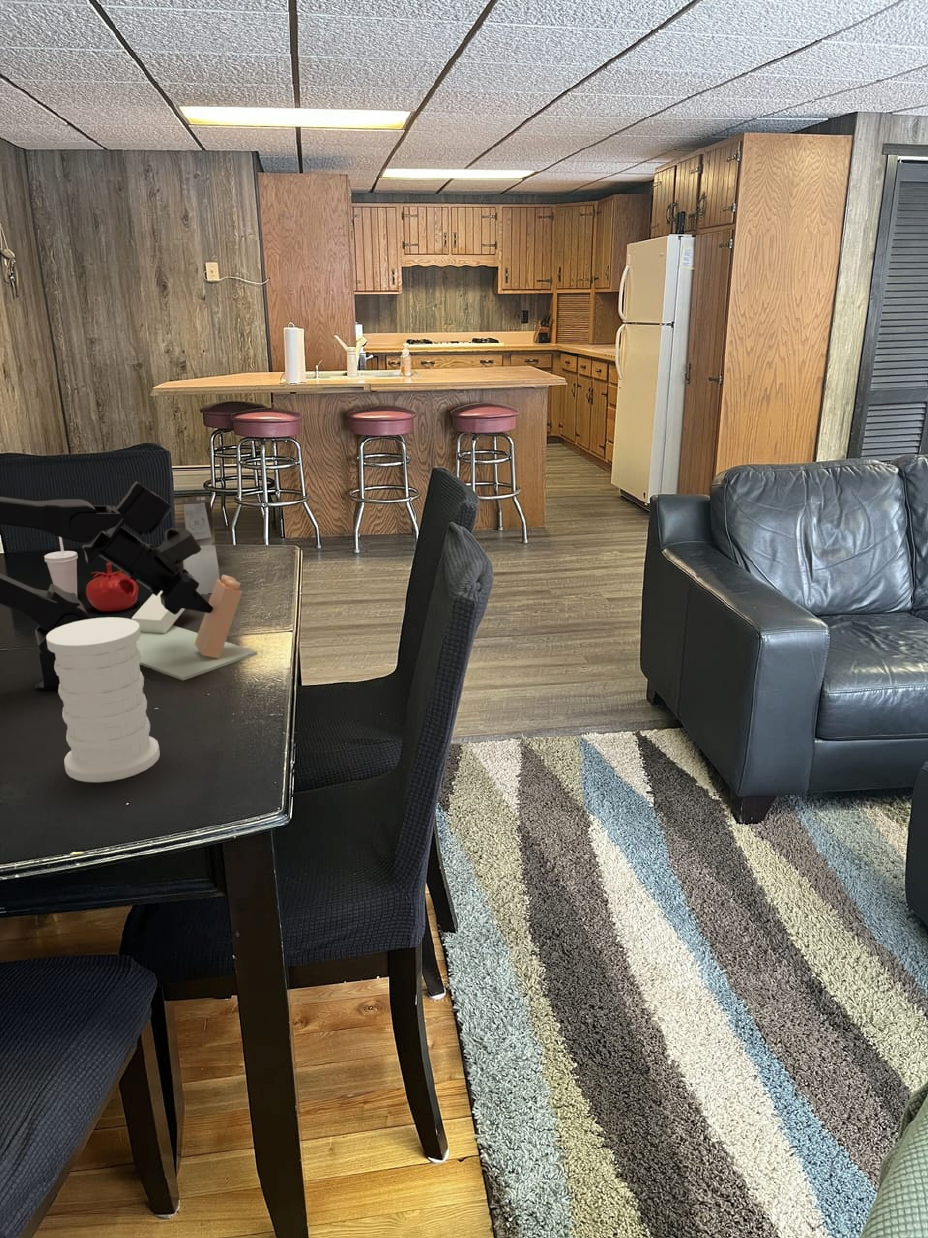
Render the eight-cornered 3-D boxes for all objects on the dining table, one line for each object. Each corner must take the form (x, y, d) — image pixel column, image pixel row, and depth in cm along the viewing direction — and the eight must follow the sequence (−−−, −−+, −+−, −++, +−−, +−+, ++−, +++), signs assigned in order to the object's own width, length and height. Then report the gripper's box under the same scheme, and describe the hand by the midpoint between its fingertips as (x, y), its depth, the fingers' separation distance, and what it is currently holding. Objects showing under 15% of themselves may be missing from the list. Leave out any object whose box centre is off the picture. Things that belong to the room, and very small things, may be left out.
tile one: (160, 620, 161) (194, 579, 171) (131, 618, 163) (166, 578, 173) (165, 633, 163) (198, 592, 173) (136, 631, 164) (171, 590, 174)
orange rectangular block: (202, 654, 148) (227, 580, 147) (194, 644, 153) (218, 572, 152) (219, 658, 150) (244, 585, 148) (211, 648, 155) (235, 577, 153)
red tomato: (86, 618, 175) (78, 572, 172) (92, 603, 184) (84, 560, 181) (139, 612, 178) (131, 567, 174) (142, 597, 187) (135, 555, 184)
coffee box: (218, 568, 209) (211, 501, 204) (189, 571, 207) (182, 503, 202) (216, 559, 217) (209, 494, 212) (189, 562, 216) (181, 496, 211)
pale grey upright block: (221, 592, 190) (216, 546, 187) (188, 596, 188) (183, 550, 185) (218, 588, 193) (213, 543, 190) (186, 592, 191) (181, 546, 188)
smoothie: (72, 604, 183) (61, 537, 179) (44, 602, 185) (33, 536, 180) (90, 595, 189) (80, 531, 185) (63, 594, 191) (53, 530, 186)
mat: (183, 680, 142) (182, 677, 142) (86, 644, 159) (85, 642, 159) (257, 654, 153) (256, 651, 153) (158, 623, 170) (158, 620, 170)
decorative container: (170, 740, 121) (154, 615, 116) (144, 781, 110) (125, 645, 105) (85, 742, 121) (64, 617, 116) (50, 784, 110) (26, 647, 104)
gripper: (176, 527, 134) (256, 585, 143) (154, 507, 150) (227, 561, 158) (130, 586, 133) (213, 640, 142) (112, 559, 149) (188, 610, 157)
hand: (211, 610), depth 150 cm, fingers closed, pressing on orange rectangular block
